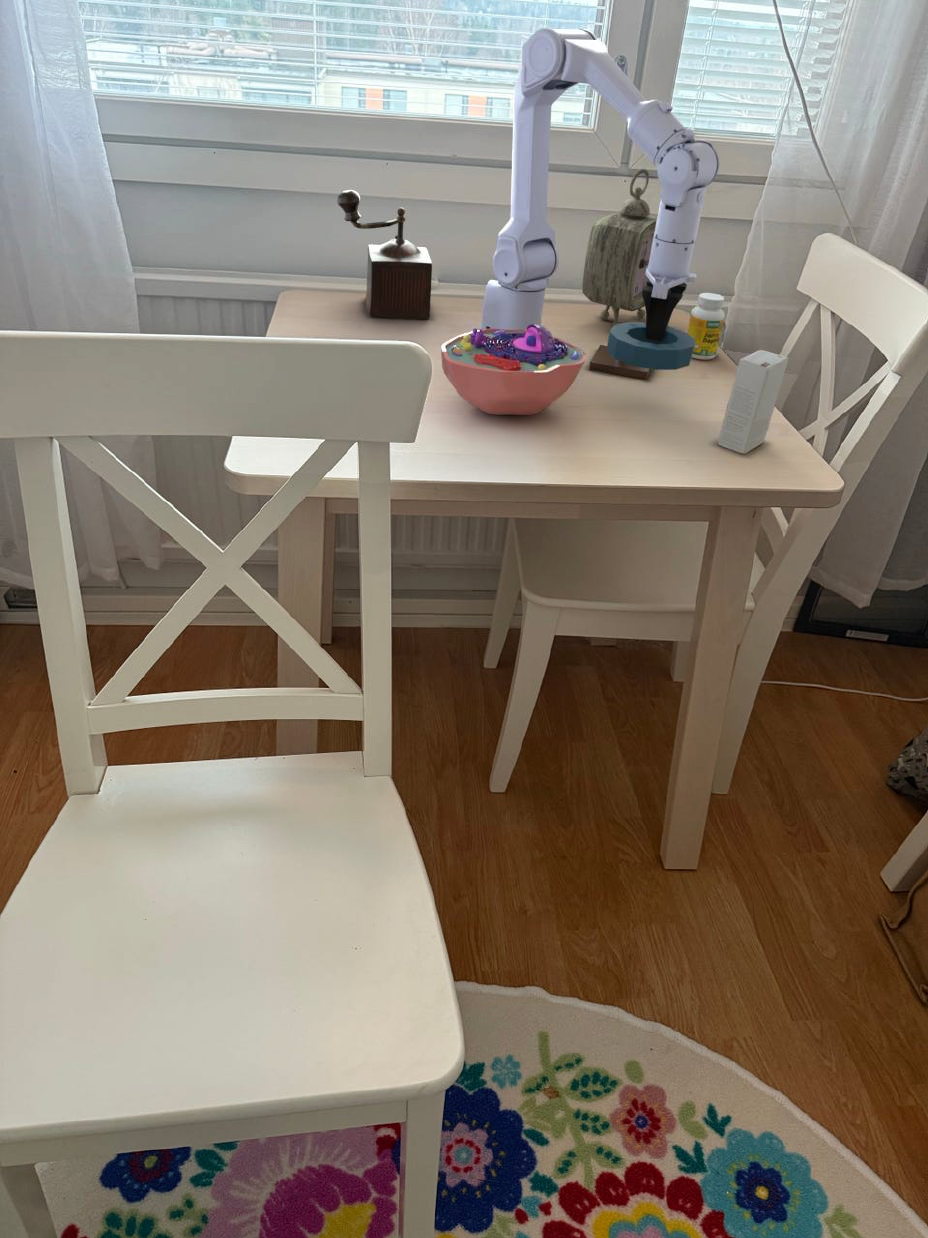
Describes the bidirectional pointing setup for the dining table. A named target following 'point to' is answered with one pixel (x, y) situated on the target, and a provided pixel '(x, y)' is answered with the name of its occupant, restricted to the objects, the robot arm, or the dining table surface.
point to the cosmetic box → (752, 401)
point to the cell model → (511, 368)
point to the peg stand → (615, 365)
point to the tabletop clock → (620, 256)
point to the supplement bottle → (706, 325)
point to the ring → (650, 347)
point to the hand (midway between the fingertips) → (655, 335)
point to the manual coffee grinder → (393, 269)
